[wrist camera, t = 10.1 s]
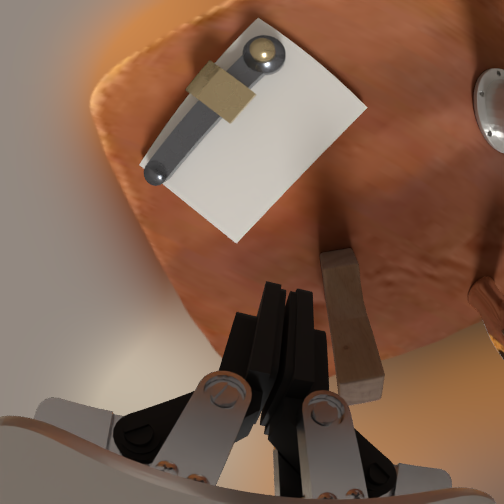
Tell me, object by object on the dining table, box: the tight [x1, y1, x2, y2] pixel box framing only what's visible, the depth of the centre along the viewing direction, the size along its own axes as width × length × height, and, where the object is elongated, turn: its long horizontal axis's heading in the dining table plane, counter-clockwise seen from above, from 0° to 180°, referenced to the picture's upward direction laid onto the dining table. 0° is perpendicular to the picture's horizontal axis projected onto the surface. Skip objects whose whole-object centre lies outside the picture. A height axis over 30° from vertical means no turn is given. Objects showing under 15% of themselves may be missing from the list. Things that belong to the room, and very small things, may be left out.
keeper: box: [185, 38, 276, 123], centre depth 26 cm, size 9×6×5 cm, turn 140°
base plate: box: [140, 18, 367, 243], centre depth 31 cm, size 23×16×2 cm
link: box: [144, 35, 286, 186], centre depth 29 cm, size 22×4×2 cm, turn 136°
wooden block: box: [320, 248, 385, 406], centre depth 31 cm, size 9×4×18 cm, turn 14°
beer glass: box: [468, 276, 504, 359], centre depth 31 cm, size 7×7×15 cm
